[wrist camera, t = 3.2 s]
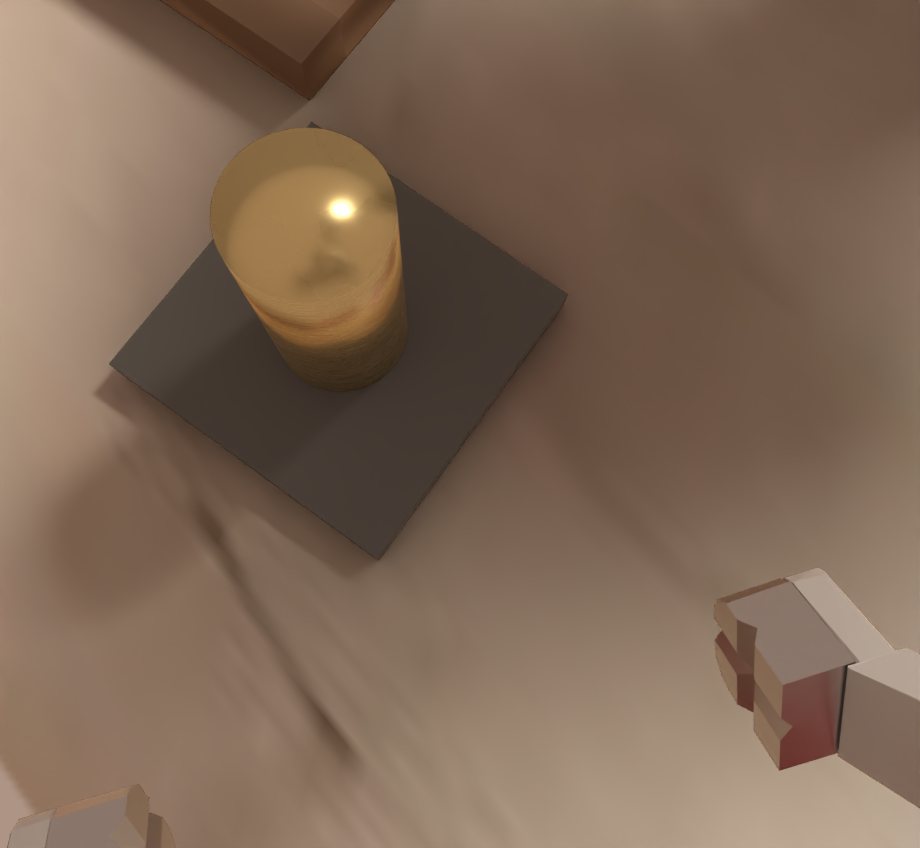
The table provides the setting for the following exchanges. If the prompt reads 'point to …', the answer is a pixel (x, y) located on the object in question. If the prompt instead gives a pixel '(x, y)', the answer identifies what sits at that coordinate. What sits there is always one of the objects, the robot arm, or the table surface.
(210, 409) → the pad
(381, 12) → the socket block
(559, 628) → the table surface
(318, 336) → the brass peg
